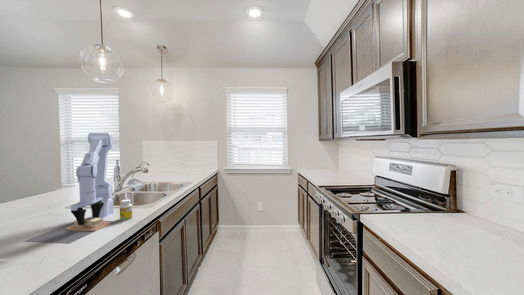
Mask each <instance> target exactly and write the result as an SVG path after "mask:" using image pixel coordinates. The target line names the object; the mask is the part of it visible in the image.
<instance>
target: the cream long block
mask: <svg viewBox="0 0 524 295" xmlns="http://www.w3.org/2000/svg"><path fill="white" fill-rule="evenodd" d="M103 221H104V218H90V217H87V216H86V217H85V218H84V225H78V222H77V220H76V219H75V220H74V227H75V228H89V229H95V228H98V227H100V226H102V225H103Z"/></svg>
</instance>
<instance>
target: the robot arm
mask: <svg viewBox="0 0 524 295" xmlns="http://www.w3.org/2000/svg"><path fill="white" fill-rule="evenodd" d="M113 139H114V137H113V134H112V132H110V131H109V132H92V131H91V132H89V133H88V135H87V142H88V143H89V150H88V152H87V153H85V154H84V157H83V158H82V161H81V165H79V166H77V167H76V171H75V175H76V178H77V183H78V186H79V201H78V202H77V203H75V204H73V205H71V206H70V212H71V214H72V215H73V217H74V218H75V220H77V222H78V225H84V218H85V216H86V212H87V208H86V207H88V206H89V207H90V210H91V216H90V217H89V218H103V219H105V218H108V217H111V216H113V215H115V214H116V213H115V211H114V210H115V209H114V200H113V199H112V198H111V197H112V195H113V189H112V188H113V187H112V186H113V185H112V184H111V183H110V182H109V181H107V169H108V168H107V167H108V158H109V157H108V155H109V151H110V150H112V149H113V143H114V142H113V141H114V140H113ZM84 208H86V209H84Z"/></svg>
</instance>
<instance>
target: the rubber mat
mask: <svg viewBox="0 0 524 295" xmlns="http://www.w3.org/2000/svg"><path fill="white" fill-rule="evenodd" d="M103 222H111V224H110V225H113V224H114V223H116V222H117V221H115V220H103ZM73 225H74V222H71V223H68V224H66V225H65V224H64V225H63V226H60V227H58V228H54V229H52V230H49V231H48V232H44V233H43V234H39V235H37V236H35V237H30V238H29V239H26V240H23V241H22V242H23V243H43V244H44V243H45V244H46V243H47V244H64V245H65V244H66V245H67V244H68V245H69V244H72V243H74V242H76V241H79V240H80V239H82V238H84V237H86V236H89V235H91V234H92V233H95V232H96V231H72V230H66V228H68V227H71V226H73ZM103 225H104V224H103ZM105 227H107V226H105ZM105 227H103V228H105ZM74 228H75V227H74ZM103 228H101V229H100V230H102V229H103Z"/></svg>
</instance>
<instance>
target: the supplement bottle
mask: <svg viewBox="0 0 524 295" xmlns="http://www.w3.org/2000/svg"><path fill="white" fill-rule="evenodd" d="M120 203H121V204H120V205H119V220H120V221H129V220H132V219H133V217H134V216H133V213H134V212H133V204H132V203H131V199H122V200H121V201H120Z"/></svg>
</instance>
